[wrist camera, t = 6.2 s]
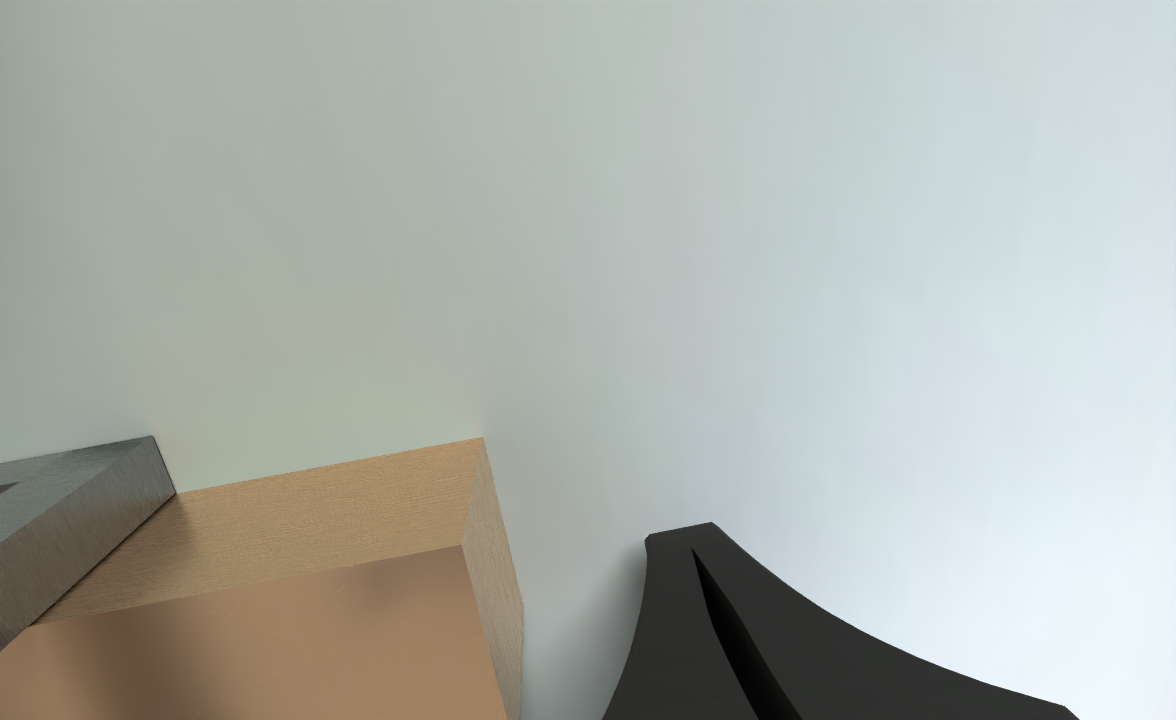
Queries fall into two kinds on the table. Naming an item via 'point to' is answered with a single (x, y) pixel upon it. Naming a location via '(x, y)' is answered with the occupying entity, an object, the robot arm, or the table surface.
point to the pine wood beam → (292, 604)
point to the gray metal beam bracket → (69, 520)
